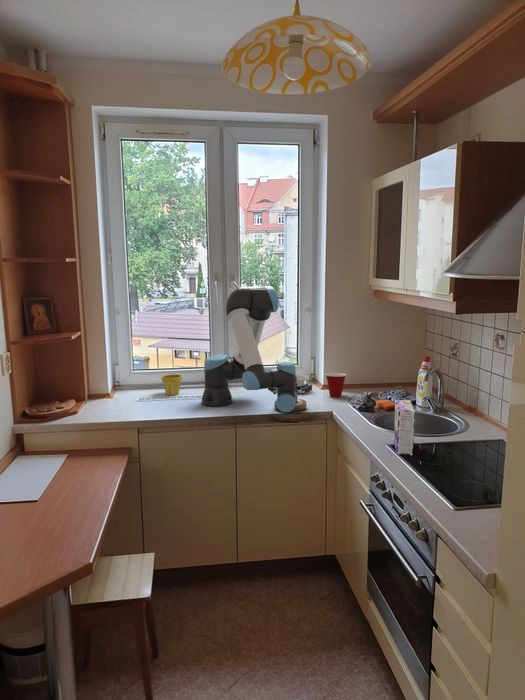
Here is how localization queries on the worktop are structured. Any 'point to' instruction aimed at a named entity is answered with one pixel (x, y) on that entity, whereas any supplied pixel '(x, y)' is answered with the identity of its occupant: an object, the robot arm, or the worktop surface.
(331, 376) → the plastic cup
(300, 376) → the teacup
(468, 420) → the worktop surface
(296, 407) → the disc
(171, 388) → the plant pot
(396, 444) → the candy box
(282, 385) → the robot arm
